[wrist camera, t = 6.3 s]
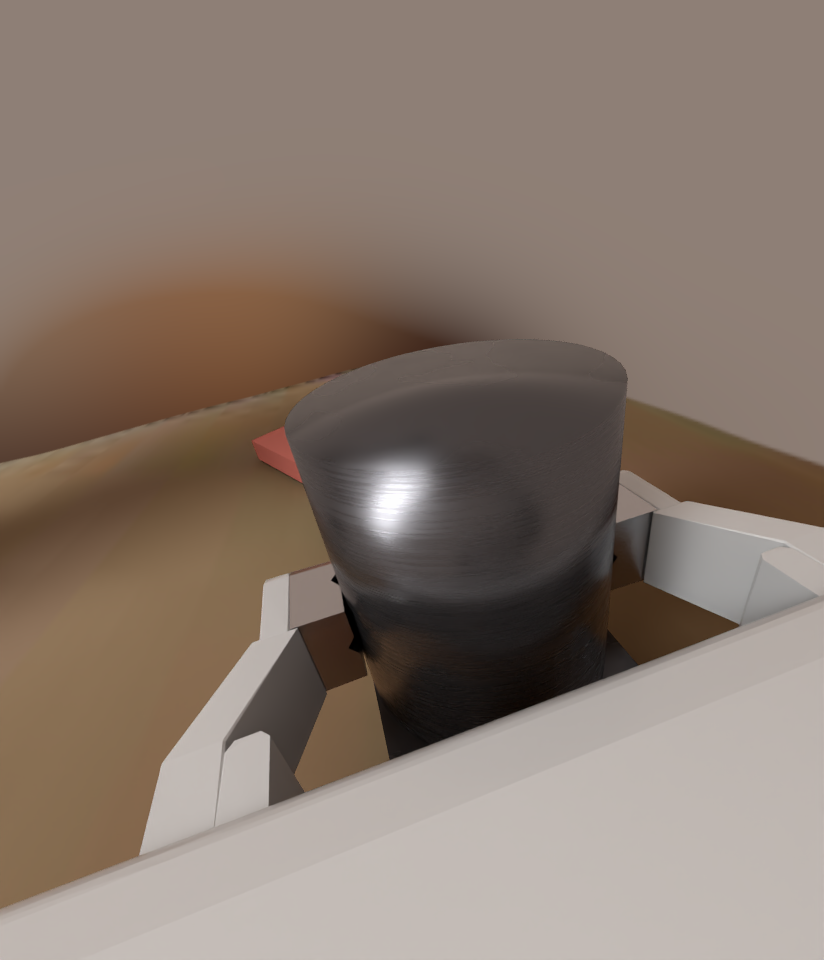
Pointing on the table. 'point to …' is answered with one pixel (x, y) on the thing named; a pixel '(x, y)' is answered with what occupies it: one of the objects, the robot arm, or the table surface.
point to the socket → (470, 524)
